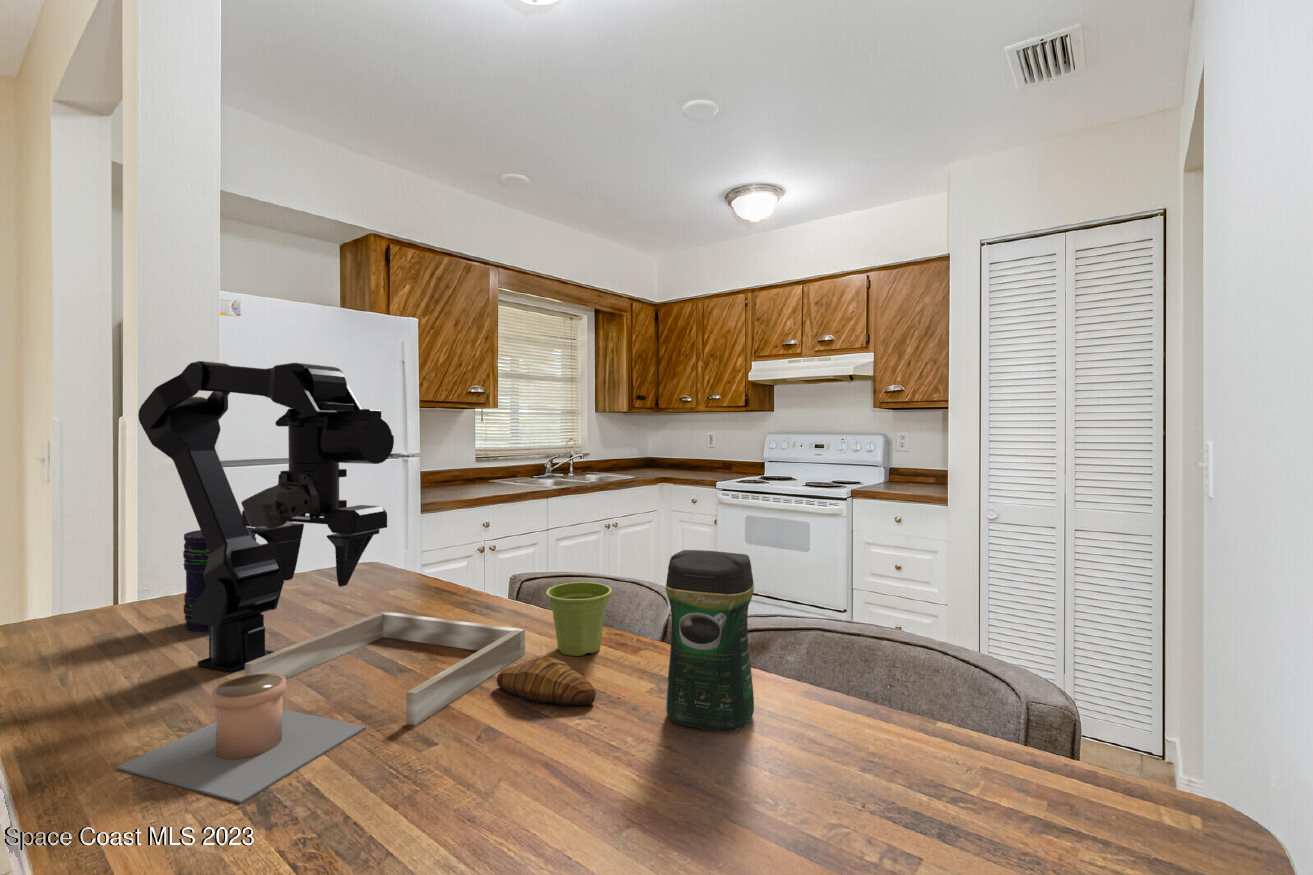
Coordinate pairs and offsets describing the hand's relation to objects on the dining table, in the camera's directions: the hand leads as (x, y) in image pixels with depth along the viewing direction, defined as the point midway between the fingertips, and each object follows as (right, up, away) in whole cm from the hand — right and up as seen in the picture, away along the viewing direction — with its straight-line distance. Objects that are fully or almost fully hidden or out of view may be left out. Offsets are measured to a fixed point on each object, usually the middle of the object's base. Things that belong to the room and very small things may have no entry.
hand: (314, 582), depth 80 cm
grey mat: (+3, -12, -18) cm, 22 cm away
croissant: (+31, -13, -6) cm, 34 cm away
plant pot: (+33, -12, +10) cm, 37 cm away
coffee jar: (+50, -13, -11) cm, 53 cm away
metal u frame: (+10, -12, +1) cm, 16 cm away
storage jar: (-27, -12, +21) cm, 36 cm away
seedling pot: (+3, -12, -18) cm, 22 cm away
